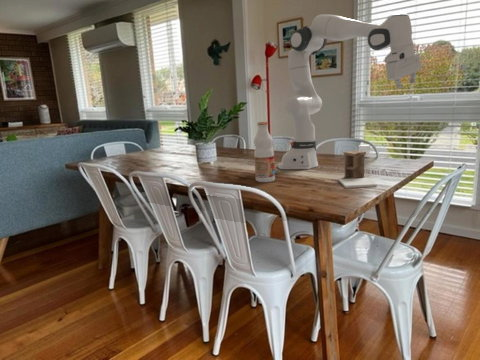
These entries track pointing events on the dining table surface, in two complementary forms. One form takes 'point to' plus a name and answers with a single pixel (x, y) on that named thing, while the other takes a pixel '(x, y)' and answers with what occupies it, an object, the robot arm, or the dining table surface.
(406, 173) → the dining table surface
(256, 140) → the fruit juice
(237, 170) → the dining table surface
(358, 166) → the stool
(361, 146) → the shot glass
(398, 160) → the dining table surface
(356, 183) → the mat
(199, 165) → the dining table surface
